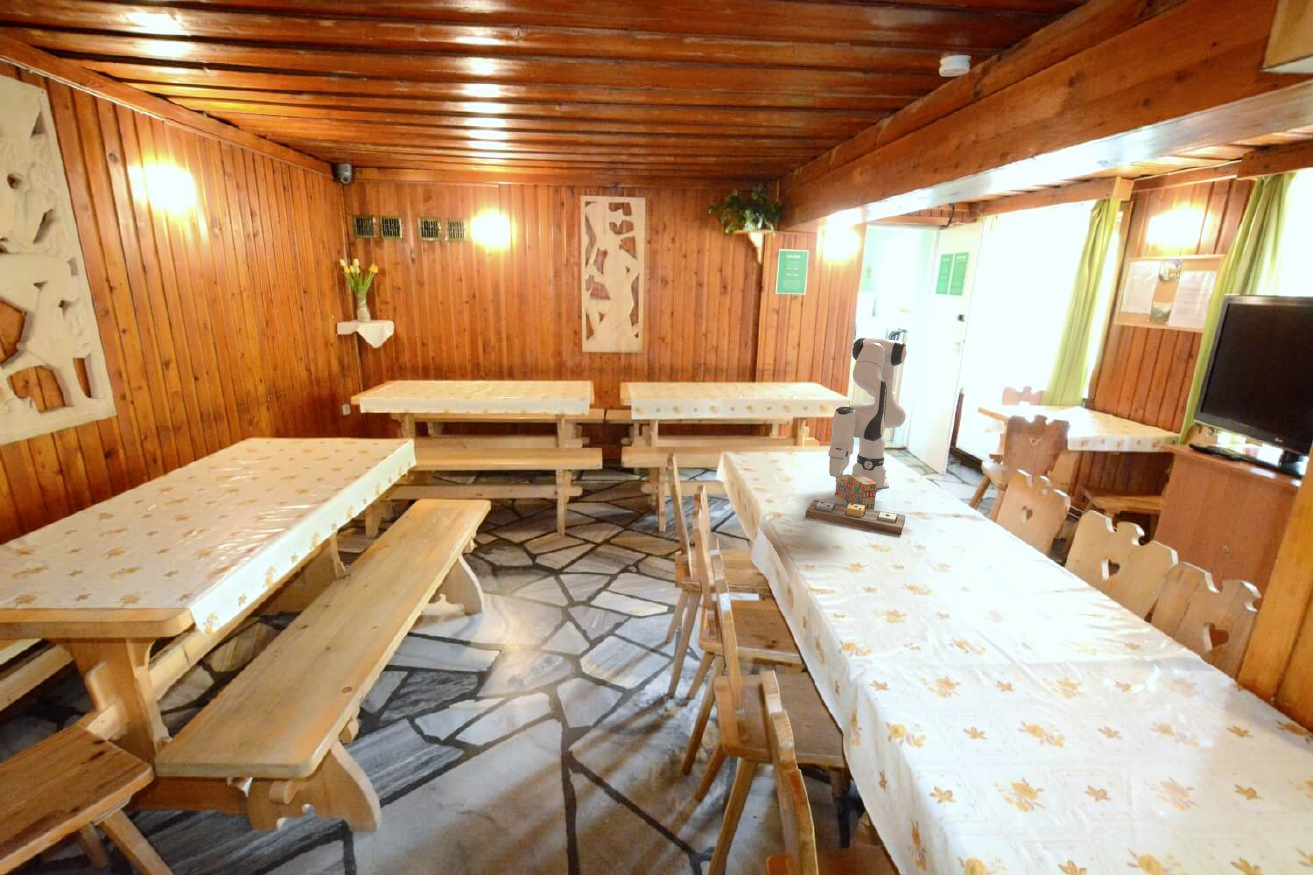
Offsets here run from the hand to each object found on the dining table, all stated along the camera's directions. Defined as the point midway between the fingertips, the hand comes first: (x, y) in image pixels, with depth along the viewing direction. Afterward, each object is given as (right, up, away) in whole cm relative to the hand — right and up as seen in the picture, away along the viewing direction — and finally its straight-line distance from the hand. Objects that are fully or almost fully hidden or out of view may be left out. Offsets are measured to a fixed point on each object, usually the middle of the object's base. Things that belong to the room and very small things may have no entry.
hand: (838, 481), depth 233 cm
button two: (-4, -14, +5) cm, 15 cm away
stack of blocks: (+13, -11, +20) cm, 26 cm away
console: (+7, -15, 0) cm, 17 cm away
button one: (+17, -17, -5) cm, 25 cm away
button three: (+7, -14, 0) cm, 16 cm away
